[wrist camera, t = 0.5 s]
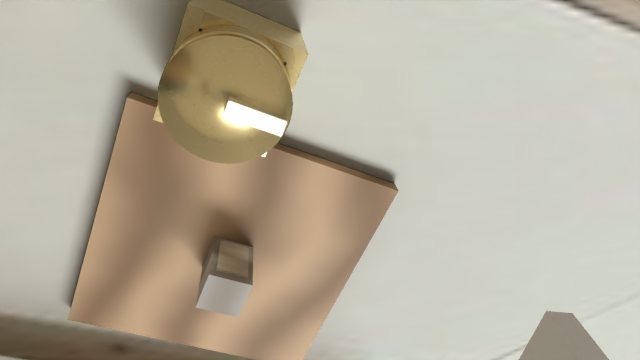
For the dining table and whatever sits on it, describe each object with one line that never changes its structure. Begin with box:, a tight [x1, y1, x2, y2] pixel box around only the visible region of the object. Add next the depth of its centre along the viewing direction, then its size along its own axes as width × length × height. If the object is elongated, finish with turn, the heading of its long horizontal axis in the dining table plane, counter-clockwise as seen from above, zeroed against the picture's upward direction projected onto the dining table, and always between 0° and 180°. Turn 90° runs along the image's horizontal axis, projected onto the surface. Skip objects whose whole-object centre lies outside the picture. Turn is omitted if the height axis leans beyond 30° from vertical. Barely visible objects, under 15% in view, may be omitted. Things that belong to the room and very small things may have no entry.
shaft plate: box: [68, 92, 398, 360], centre depth 33 cm, size 18×18×5 cm
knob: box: [153, 0, 308, 164], centre depth 25 cm, size 6×6×8 cm
